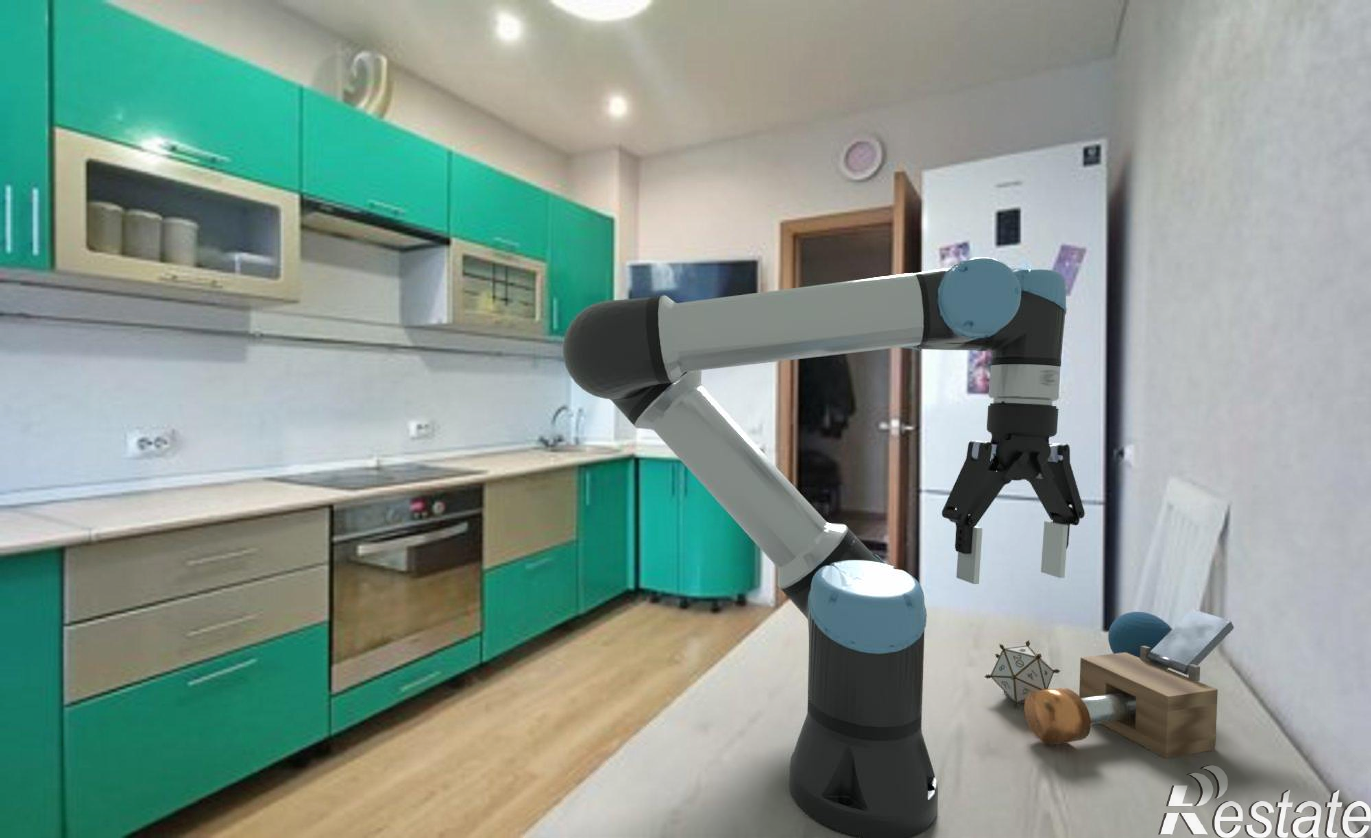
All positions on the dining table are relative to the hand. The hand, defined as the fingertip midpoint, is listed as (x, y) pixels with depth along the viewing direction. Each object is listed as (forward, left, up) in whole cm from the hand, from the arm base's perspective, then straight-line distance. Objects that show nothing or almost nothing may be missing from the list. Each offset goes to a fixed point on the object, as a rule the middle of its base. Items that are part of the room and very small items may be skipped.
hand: (1011, 577), depth 79 cm
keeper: (+28, -1, -10) cm, 30 cm away
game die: (+11, +9, -21) cm, 25 cm away
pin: (+12, -1, -20) cm, 24 cm away
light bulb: (+30, +7, -21) cm, 37 cm away
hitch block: (+21, -1, -21) cm, 29 cm away
